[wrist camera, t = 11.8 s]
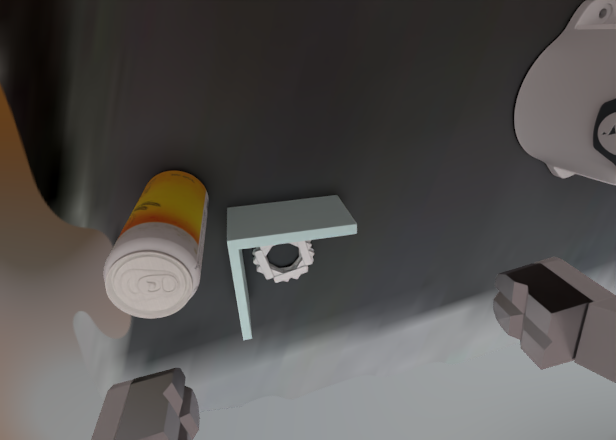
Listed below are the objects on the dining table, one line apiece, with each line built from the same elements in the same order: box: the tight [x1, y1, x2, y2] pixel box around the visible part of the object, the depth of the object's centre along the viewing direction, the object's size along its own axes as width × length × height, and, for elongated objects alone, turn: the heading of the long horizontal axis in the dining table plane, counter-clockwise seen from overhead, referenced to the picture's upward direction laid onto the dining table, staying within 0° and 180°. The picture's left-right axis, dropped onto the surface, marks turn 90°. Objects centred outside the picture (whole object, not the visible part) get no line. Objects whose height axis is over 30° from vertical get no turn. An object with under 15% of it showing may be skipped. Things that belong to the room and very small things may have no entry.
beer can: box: [103, 171, 209, 318], centre depth 30 cm, size 6×6×15 cm
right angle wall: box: [227, 195, 357, 340], centre depth 39 cm, size 12×12×8 cm
